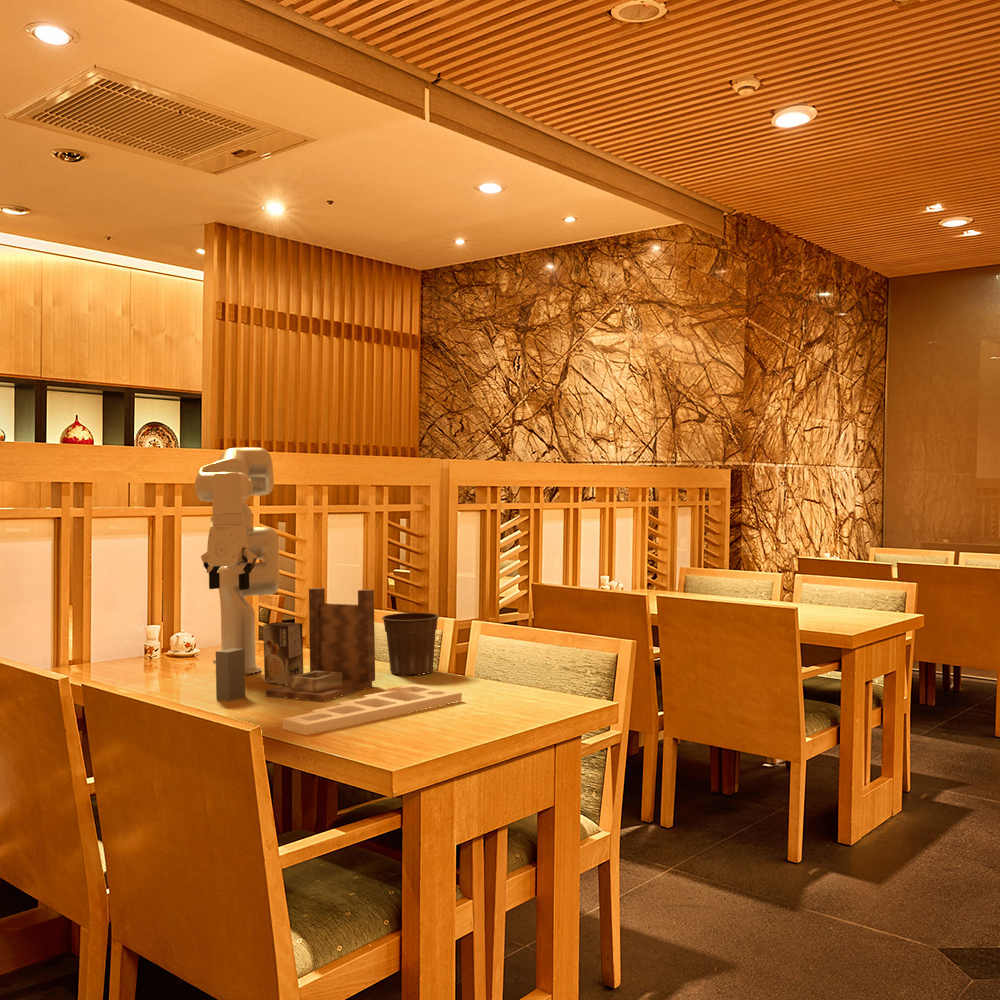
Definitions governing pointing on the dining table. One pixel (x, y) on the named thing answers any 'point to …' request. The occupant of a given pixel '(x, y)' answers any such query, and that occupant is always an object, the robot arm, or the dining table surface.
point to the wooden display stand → (336, 649)
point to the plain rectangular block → (230, 674)
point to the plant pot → (411, 642)
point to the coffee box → (282, 651)
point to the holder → (371, 708)
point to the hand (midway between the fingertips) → (229, 589)
